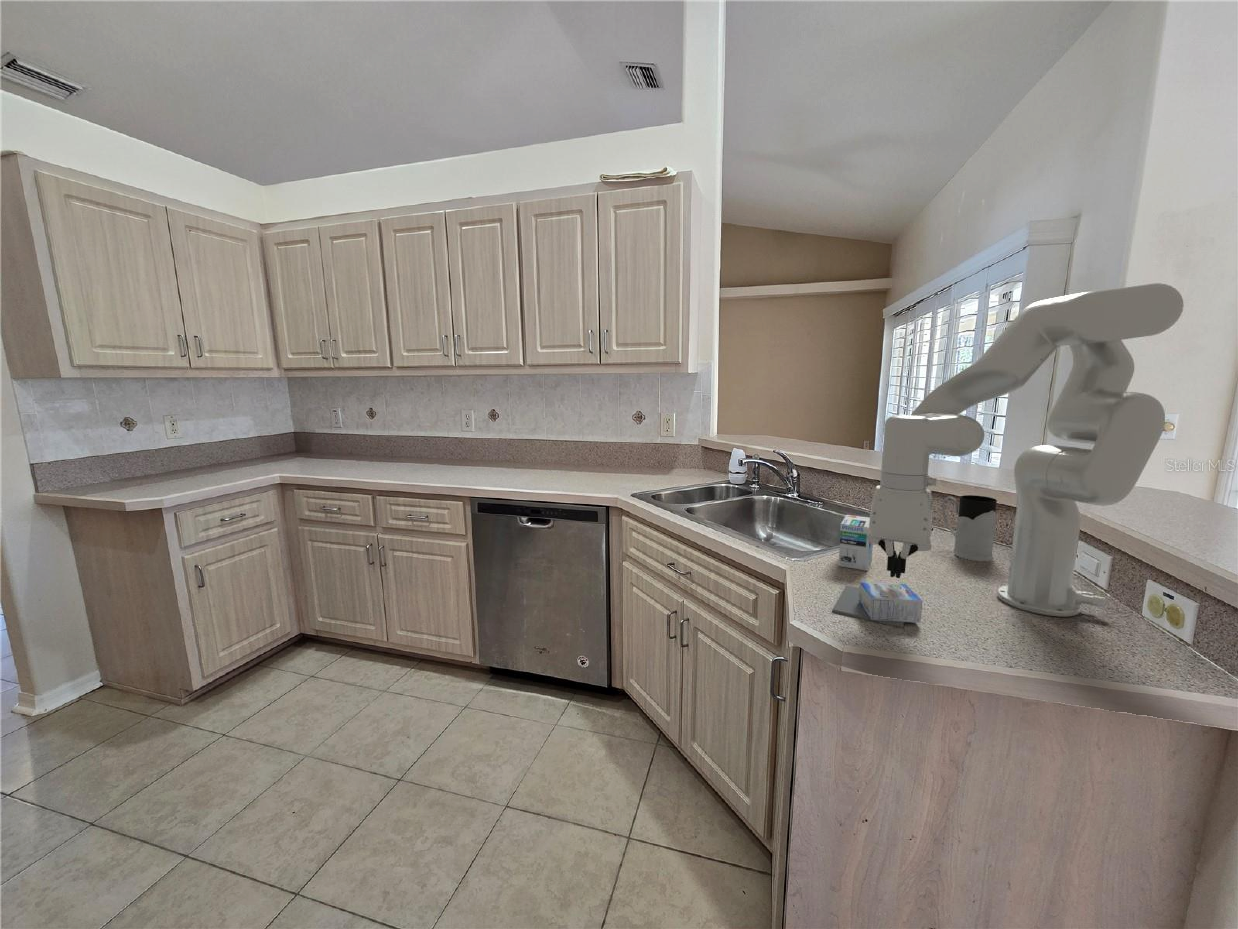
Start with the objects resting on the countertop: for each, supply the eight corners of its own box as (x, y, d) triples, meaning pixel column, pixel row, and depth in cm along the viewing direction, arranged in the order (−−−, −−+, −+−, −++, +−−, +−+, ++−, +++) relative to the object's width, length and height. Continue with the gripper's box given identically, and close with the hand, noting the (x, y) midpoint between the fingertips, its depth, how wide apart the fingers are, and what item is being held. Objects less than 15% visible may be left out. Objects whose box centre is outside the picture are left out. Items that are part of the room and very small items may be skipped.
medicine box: (923, 600, 88) (871, 597, 90) (921, 624, 89) (870, 620, 90) (906, 583, 96) (859, 580, 97) (904, 605, 96) (857, 602, 98)
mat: (909, 600, 100) (909, 598, 99) (903, 628, 88) (903, 625, 88) (845, 587, 106) (846, 585, 106) (832, 611, 95) (832, 609, 95)
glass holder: (974, 563, 120) (980, 503, 118) (926, 545, 134) (930, 491, 131) (1002, 559, 122) (1009, 501, 120) (952, 542, 136) (957, 489, 133)
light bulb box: (868, 571, 115) (871, 527, 114) (837, 566, 119) (839, 523, 117) (872, 558, 124) (875, 517, 123) (843, 554, 128) (846, 514, 126)
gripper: (951, 482, 90) (942, 577, 93) (862, 475, 98) (856, 562, 101) (951, 489, 84) (941, 590, 87) (855, 481, 92) (849, 573, 95)
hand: (895, 575), depth 94 cm, fingers closed
